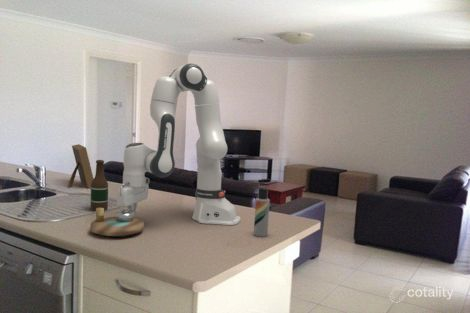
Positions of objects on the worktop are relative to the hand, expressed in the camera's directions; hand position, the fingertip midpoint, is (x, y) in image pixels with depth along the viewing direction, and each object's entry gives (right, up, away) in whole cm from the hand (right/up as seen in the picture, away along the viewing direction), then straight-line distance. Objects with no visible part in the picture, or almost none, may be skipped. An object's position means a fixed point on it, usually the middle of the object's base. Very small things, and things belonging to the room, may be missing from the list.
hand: (132, 213), depth 166 cm
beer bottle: (-22, -2, +21) cm, 30 cm away
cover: (-2, -2, -6) cm, 7 cm away
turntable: (-3, -4, -11) cm, 13 cm away
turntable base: (-3, -6, -11) cm, 13 cm away
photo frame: (-54, +6, +77) cm, 94 cm away
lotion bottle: (+54, -8, -5) cm, 55 cm away
